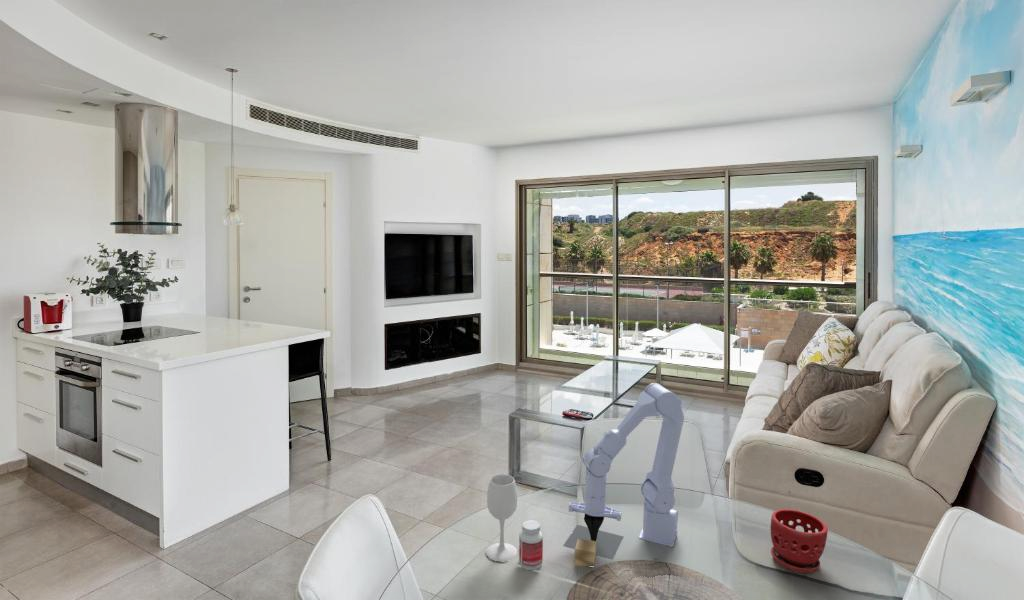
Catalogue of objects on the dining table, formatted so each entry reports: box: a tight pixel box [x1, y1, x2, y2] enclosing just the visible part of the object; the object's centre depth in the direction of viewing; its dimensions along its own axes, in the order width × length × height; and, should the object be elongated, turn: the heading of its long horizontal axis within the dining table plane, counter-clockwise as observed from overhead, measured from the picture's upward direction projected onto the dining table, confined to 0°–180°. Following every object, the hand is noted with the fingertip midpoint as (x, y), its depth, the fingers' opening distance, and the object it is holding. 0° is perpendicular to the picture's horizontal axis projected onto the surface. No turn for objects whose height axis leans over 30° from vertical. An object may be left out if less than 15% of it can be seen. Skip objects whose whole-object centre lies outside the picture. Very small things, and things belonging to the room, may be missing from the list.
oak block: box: [574, 539, 597, 568], centre depth 143 cm, size 5×5×5 cm
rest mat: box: [562, 524, 625, 560], centre depth 152 cm, size 14×12×1 cm
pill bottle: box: [518, 519, 544, 571], centre depth 141 cm, size 6×6×11 cm
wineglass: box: [485, 473, 518, 562], centre depth 145 cm, size 9×9×21 cm
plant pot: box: [770, 508, 829, 574], centre depth 143 cm, size 13×13×12 cm
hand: (593, 538), depth 152 cm, fingers closed
